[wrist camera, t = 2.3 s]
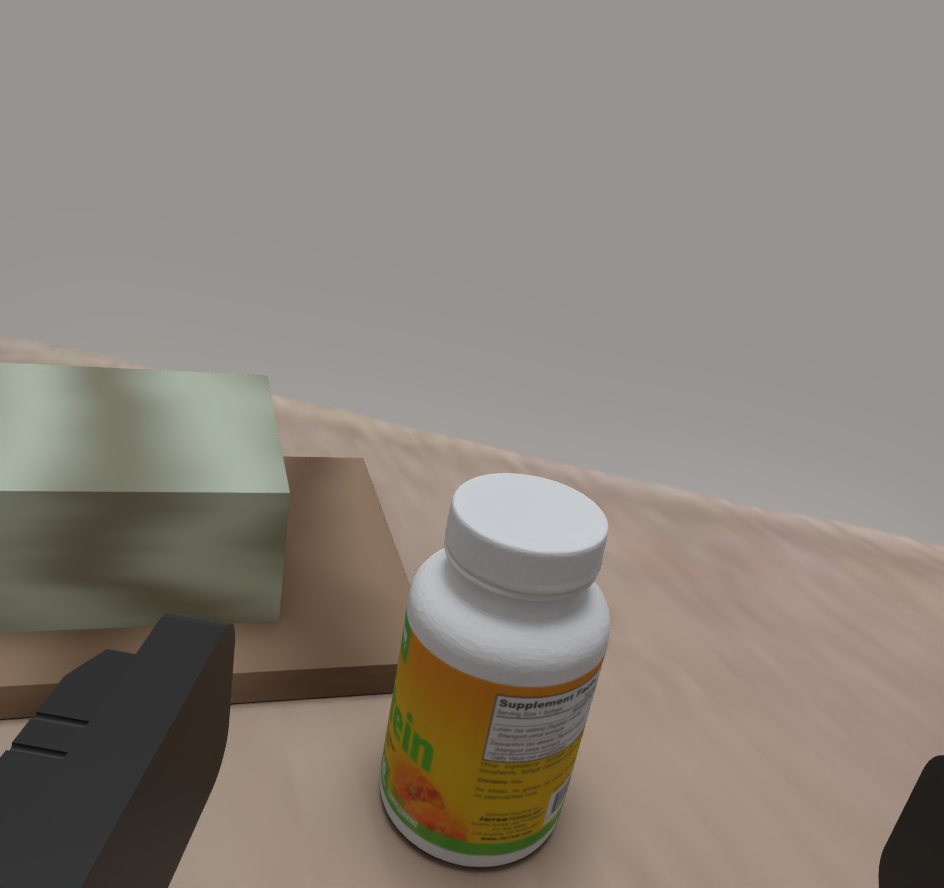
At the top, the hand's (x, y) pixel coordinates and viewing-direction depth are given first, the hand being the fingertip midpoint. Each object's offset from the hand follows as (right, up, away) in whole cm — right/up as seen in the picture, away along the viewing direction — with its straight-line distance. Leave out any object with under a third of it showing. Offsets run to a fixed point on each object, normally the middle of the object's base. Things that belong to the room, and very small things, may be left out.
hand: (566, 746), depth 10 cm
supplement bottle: (-1, -7, +16) cm, 17 cm away
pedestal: (-14, -1, +23) cm, 27 cm away
